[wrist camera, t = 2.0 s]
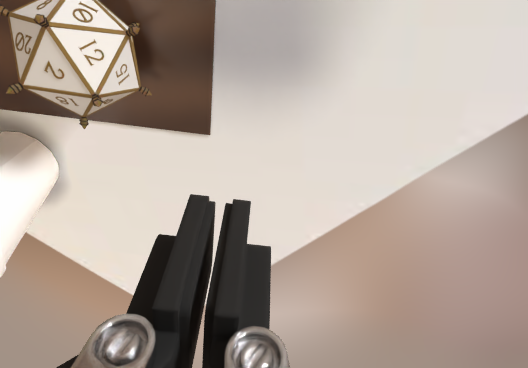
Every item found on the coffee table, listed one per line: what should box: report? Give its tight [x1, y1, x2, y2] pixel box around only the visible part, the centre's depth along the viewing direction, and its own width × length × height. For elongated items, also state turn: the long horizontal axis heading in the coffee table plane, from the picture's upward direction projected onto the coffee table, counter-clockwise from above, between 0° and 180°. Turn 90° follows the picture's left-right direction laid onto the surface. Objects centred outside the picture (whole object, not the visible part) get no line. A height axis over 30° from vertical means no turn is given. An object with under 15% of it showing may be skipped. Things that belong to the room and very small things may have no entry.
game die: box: [0, 0, 152, 129], centre depth 23 cm, size 9×8×10 cm
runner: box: [0, 0, 215, 135], centre depth 26 cm, size 14×24×1 cm, turn 83°
